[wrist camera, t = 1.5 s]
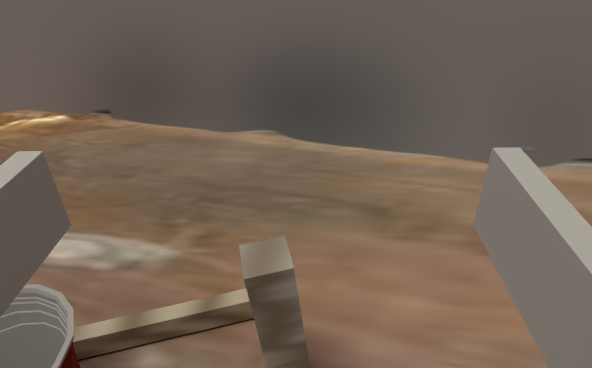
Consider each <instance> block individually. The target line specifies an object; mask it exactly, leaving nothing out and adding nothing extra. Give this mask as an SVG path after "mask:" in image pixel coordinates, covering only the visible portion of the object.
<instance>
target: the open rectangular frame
mask: <svg viewBox="0 0 592 368" xmlns="http://www.w3.org/2000/svg"><path fill="white" fill-rule="evenodd" d="M239 246H240V254H241V262H242V269H243V277H244V282H245V286H246V289H241V290H237V291H233V292H228V293H224V294H219V295H215V296H211V297H206V298H202V299H198V300H193V301H189V302H184V303H180V304H176V305H171V306H167V307H163V308H158V309H154V310H150V311H145V312H141V313H136V314H132V315H128V316H123V317H119V318H115V319H110V320H106V321H101V322H97V323H93V324H88V325H84V326H80V327H75V328H74V339H73V347H74V350H75V353H76V356H77V359H78V360H79V359H83V358H87V357H91V356H96V355H100V354H104V353H108V352H113V351H117V350H121V349H125V348H129V347H134V346H138V345H142V344H146V343H151V342H155V341H159V340H163V339H168V338H172V337H176V336H180V335H184V334H189V333H193V332H197V331H201V330H206V329H210V328H214V327H218V326H223V325H227V324H231V323H235V322H240V321H244V320H248V319H252V318H254V320H255V324H256V328H257V332H258V335H259V339H260V343H261V347H262V351H263V355H264V358H265V362H266V366H267V368H310V366H309V360H308V354H307V348H306V341H305V335H304V329H303V323H302V316H301V310H300V304H299V298H298V292H297V285H296V279H295V273H294V267H293V264H292V260H291V256H290V252H289V249H288V245H287V241H286V238H285V236H280V237H276V238H271V239H267V240H262V241H258V242H253V243H248V244H244V245H239Z"/></svg>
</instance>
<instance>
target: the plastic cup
mask: <svg viewBox="0 0 592 368" xmlns="http://www.w3.org/2000/svg"><path fill="white" fill-rule="evenodd" d="M73 339H74V309H73V308H72V307H71V305H70V304H69V303H68V301H67V300H66V299H65V297H64V296H63V294H62V293H61V292H58V291H56V290H53V289H50V288H47V287H45V286H42V285H39V284H35V285H25V286H24V287H23V288H22V290H21V291H20V292H19V294H18V295H17V296H16V298H15V299H14V300H13V301H12V303H11V304H10V305H9V307H8V308H7V309H6V310H5V312H4V313H3V314H2V316H1V317H0V368H80V365H79V362H78V359H77V356H76V353H75V350H74V347H73Z"/></svg>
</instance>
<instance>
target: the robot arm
mask: <svg viewBox="0 0 592 368" xmlns="http://www.w3.org/2000/svg"><path fill="white" fill-rule="evenodd" d="M473 225H474V227H475V229H476V231H477V233H478V235H479V236H480V238H481V240H482V242H483V244H484V246H485V248H486V250H487V252H488V253H489V255H490V257H491V259H492V261H493V263H494V265H495V267H496V269H497V271H498V272H499V274H500V276H501V278H502V280H503V282H504V284H505V286H506V288H507V289H508V291H509V293H510V295H511V297H512V299H513V301H514V303H515V305H516V307H517V308H518V310H519V312H520V314H521V316H522V318H523V320H524V322H525V324H526V325H527V327H528V329H529V331H530V333H531V335H532V337H533V339H534V341H535V343H536V344H537V346H538V348H539V350H540V352H541V354H542V356H543V358H544V360H545V362H546V363H547V365H548V367H549V368H592V227H591V226H590V225H589V224H588V222H587V221H586V220H585V219H584V218H583V217H582V216H581V215H580V214H579V213H578V211H577V210H576V209H575V208H574V207H573V206H572V205H571V204H570V203H569V201H568V200H567V199H566V198H565V197H564V196H563V195H562V194H561V193H560V191H559V190H558V189H557V188H556V187H555V186H554V185H553V184H552V183H551V182H550V180H549V179H548V178H547V177H546V176H545V175H544V174H543V173H542V172H541V170H540V169H539V168H538V167H537V166H536V165H535V164H534V163H533V162H532V160H530V158H529V157H528V156H527V155H526V154H525V153H524V152H523V151H522V149H521V148H492V153H491V156H490V160H489V164H488V168H487V172H486V176H485V180H484V184H483V188H482V192H481V196H480V200H479V204H478V208H477V212H476V216H475V220H474V224H473ZM70 226H71V223H70V220H69V218H68V215H67V213H66V210H65V207H64V205H63V202H62V200H61V197H60V194H59V192H58V189H57V187H56V184H55V182H54V179H53V176H52V174H51V171H50V169H49V166H48V163H47V161H46V158H45V156H44V153H43V151H20V152H16V153H15V154H14V155H13V156H11V157H10V158H9V159H8V160H7V161H5V162H4V163H3V164H2V165H0V317H1V316H2V314H3V313H4V312H5V310H6V309H7V308H8V307H9V305H10V304H11V303H12V301H13V300H14V299H15V298H16V296H17V295H18V294H19V292H20V291H21V290H22V288H23V287H24V286H25V285H26V283H27V282H28V281H29V279H30V278H31V277H32V275H33V274H34V273H35V272H36V270H37V269H38V268H39V266H40V265H41V264H42V262H43V261H44V260H45V259H46V257H47V256H48V255H49V253H50V252H51V251H52V249H53V248H54V247H55V246H56V244H57V243H58V242H59V240H60V239H61V238H62V237H63V235H64V234H65V233H66V231H67V230H68V229H69V227H70Z"/></svg>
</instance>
